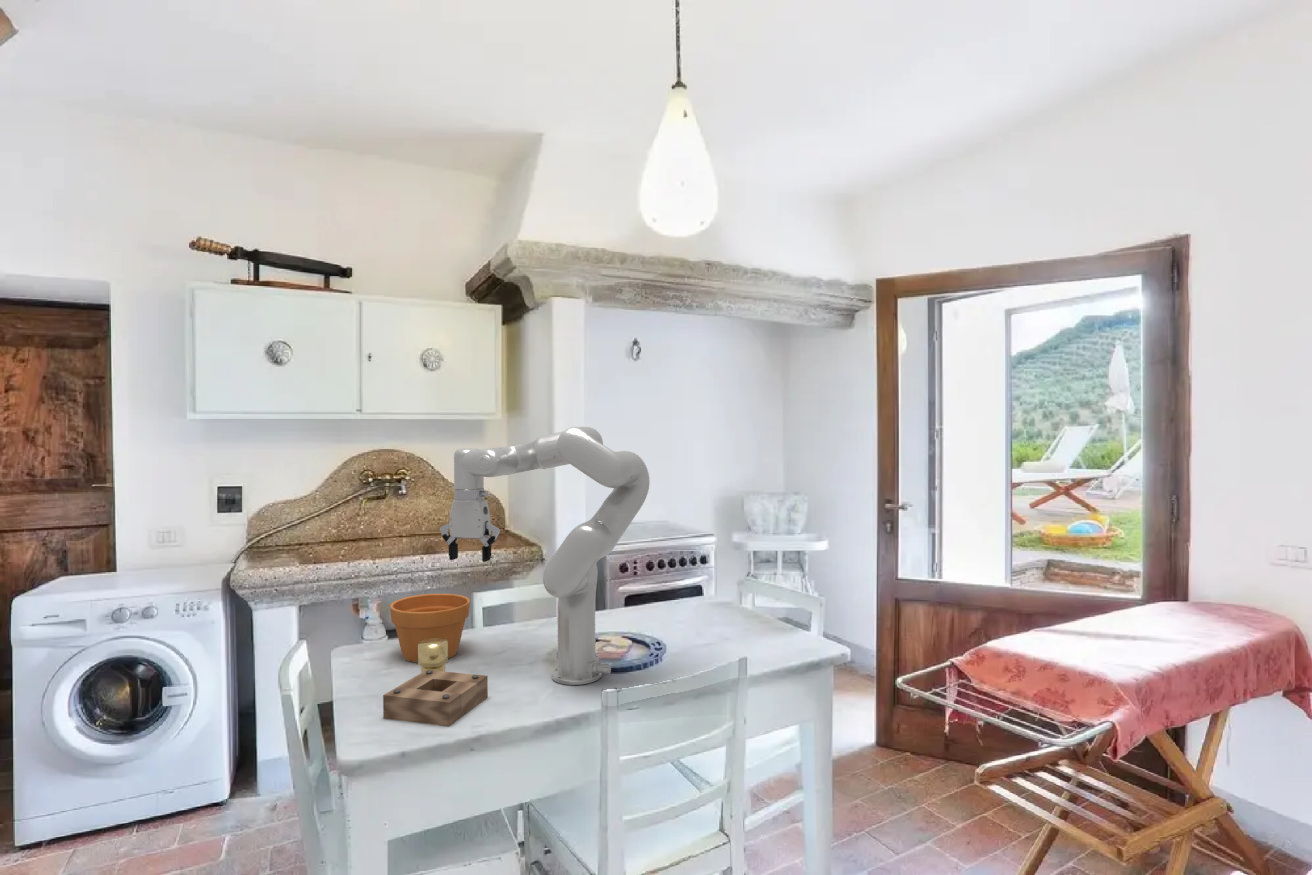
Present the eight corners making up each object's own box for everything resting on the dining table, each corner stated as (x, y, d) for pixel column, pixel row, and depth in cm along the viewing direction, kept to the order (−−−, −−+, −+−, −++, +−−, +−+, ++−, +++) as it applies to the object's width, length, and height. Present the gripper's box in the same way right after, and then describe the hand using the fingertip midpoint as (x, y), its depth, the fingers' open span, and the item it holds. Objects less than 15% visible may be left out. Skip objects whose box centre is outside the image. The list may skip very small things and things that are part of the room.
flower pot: (474, 640, 206) (473, 591, 205) (466, 664, 185) (465, 609, 185) (399, 645, 202) (398, 594, 202) (382, 669, 181) (382, 613, 181)
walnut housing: (487, 701, 160) (487, 673, 160) (449, 731, 144) (448, 700, 144) (427, 694, 164) (426, 667, 164) (383, 722, 149) (383, 692, 149)
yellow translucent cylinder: (453, 679, 174) (453, 639, 174) (437, 689, 167) (437, 647, 167) (429, 677, 176) (428, 637, 176) (412, 687, 169) (412, 645, 169)
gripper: (505, 494, 184) (506, 558, 184) (448, 493, 189) (448, 556, 189) (491, 497, 177) (492, 564, 177) (432, 496, 181) (433, 561, 182)
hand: (469, 559), depth 183 cm, fingers open, 9 cm apart
